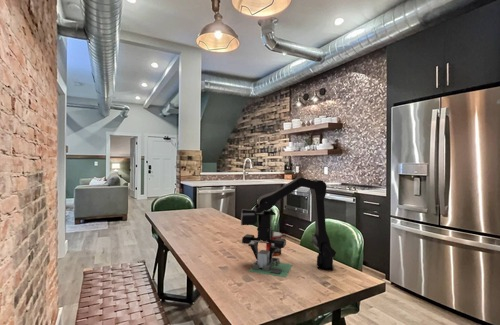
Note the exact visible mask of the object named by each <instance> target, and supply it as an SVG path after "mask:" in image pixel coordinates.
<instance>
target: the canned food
mask: <svg viewBox="0 0 500 325" xmlns="http://www.w3.org/2000/svg"><path fill="white" fill-rule="evenodd" d="M277 238H282V232H278V231H274V234H273V238H271V239H273V240H276V239H277ZM265 245H266V246H265V248H266V249H265V250H267V251H270V247H271V246H272V245H271V244H268V243H265ZM281 255H282V248H277V249H275V251H274V253H273V256H272V257H277V256H278V257H279V256H281Z"/></svg>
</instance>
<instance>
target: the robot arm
mask: <svg viewBox="0 0 500 325" xmlns="http://www.w3.org/2000/svg"><path fill="white" fill-rule="evenodd" d="M301 187H304V188H308V189H309V191H310V194H311V198H312V200H313V210H314V211H313V212H314V213H313V214H314V224H315V225H314V226H315V232H314V233H311V243H312V244H313V247H315V248H316V250H317V252H318V254H317V256H316V265H317V269H318V270H323V271H325V270H326V271H333V270H334V258H335V256H336V254H337V252H336V251H335V250H334V248H332V246H331V241H330V237H329V236H328V232H327V226H326V225H327V224H326V213H325V211H326V210H325V198H326V195H327V188H328V187H327V183H326V182H325V181H323V180H320V179H312V180H311V179H307V178H304V177H302V176H297V177H295V179H293V180H291V181H289V182H288V183H287V184H284V185H283V186H281V187H279V188H278V189H276V190H275V191H273V192H268V193H266V194H263V195H260V196H259V197H258V198H257V203H256V204H255V205H254V207H253V208H252V209H246V208H242V209H241V213H240V214H241V215H240V225H241V226H255V224H256V223H257V227H256V231H257V237H256V236H255V235H254V234H249V233H248V234H245V235H244V236H243V237H242V238H241V244H244V245H245V244H246V245H248V247H250V248H251V251H252V253H253V255H254V257H255V259H256V261H257V260H258V253H259V247H258V246H259V243H261V244H266V243H268V244H271V245H272V246H271V247H270V253H269V262H270V261H271V259H272V257H274V256H273V253H274V251H275V249H277V248H281V249H284V248H285V247H286V245H287V239H286V238H284V237H283V238H277V239H276V240H273V239H271V238H273V234H274V232H275V230H273V229H272V225H271V224H272V216H276V214H277V213H275V211H274V210H273V209H272V208H273V207H274V206H275V205H276V204H277V203H278V202H279V201H281V199H283V198H285V197H286V196H288V195H290V194H291V193H293V192H294V191H296V190H297V189H299V188H301Z"/></svg>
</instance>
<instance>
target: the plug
mask: <svg viewBox="0 0 500 325" xmlns="http://www.w3.org/2000/svg"><path fill="white" fill-rule="evenodd" d="M269 253H270V251H267V250H266V249H260V250H259V251H258V262H257V265H259V268H263V266H268V265H269Z"/></svg>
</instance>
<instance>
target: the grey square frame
mask: <svg viewBox="0 0 500 325" xmlns="http://www.w3.org/2000/svg"><path fill="white" fill-rule="evenodd" d="M257 262H258V260H256V261H255V262H254V263H253V264H252V267H253V269H254V270H259V265H257ZM272 266H273V261H272V260H271V261H270V262H269V265H268V266H263V271H267V272H269V271H270V269H271V268H272Z"/></svg>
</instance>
